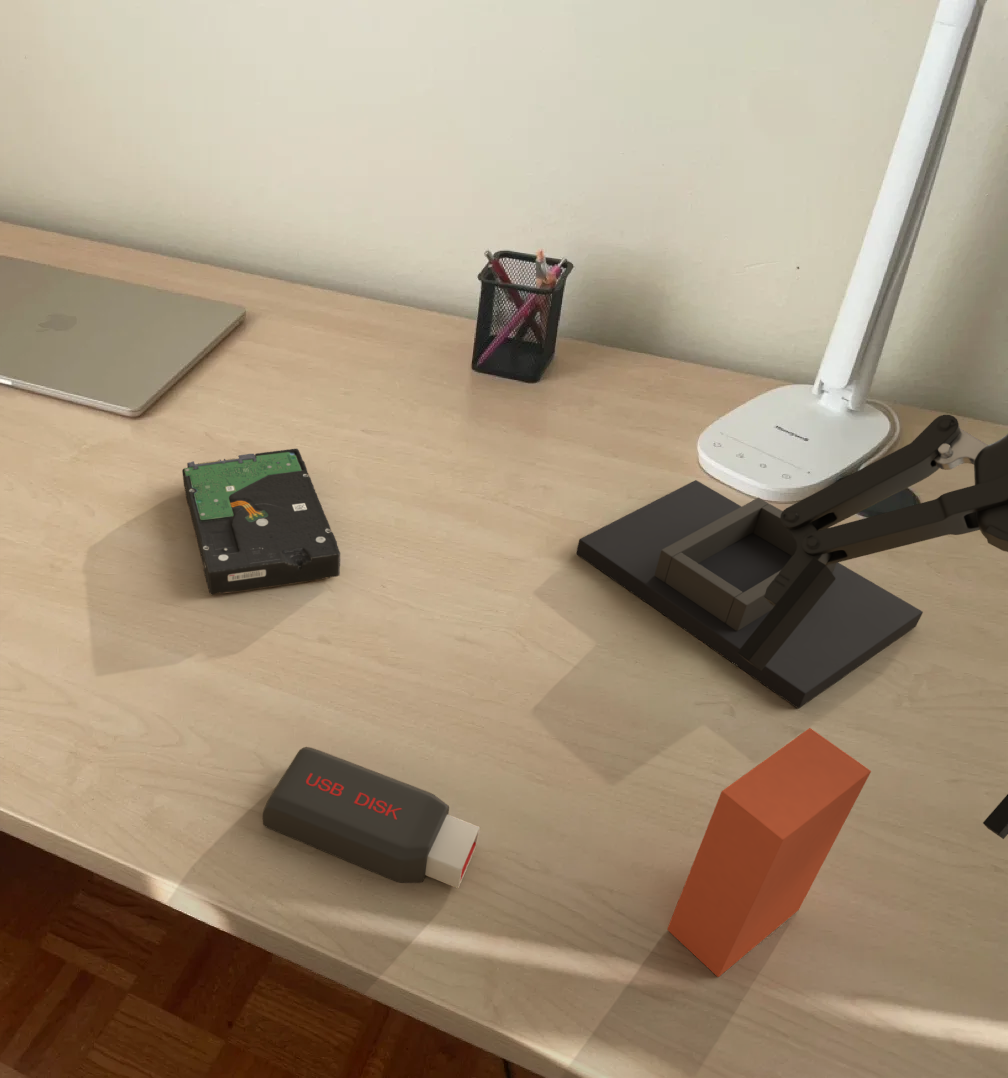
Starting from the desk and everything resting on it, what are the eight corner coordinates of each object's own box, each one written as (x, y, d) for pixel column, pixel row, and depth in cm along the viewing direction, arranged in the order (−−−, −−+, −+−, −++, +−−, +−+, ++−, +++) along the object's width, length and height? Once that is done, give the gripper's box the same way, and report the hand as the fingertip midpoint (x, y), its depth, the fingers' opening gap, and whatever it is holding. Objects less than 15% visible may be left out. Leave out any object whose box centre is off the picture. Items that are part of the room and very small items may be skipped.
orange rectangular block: (798, 909, 59) (871, 770, 51) (718, 977, 56) (783, 840, 48) (747, 866, 61) (809, 727, 54) (666, 929, 58) (721, 790, 50)
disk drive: (342, 580, 81) (298, 471, 92) (344, 552, 79) (298, 444, 91) (210, 601, 79) (180, 487, 91) (208, 573, 78) (178, 460, 89)
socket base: (916, 626, 77) (936, 585, 74) (798, 709, 70) (816, 667, 68) (691, 493, 90) (703, 454, 87) (575, 553, 83) (584, 513, 81)
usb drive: (300, 764, 67) (300, 735, 65) (481, 834, 63) (486, 805, 61) (262, 825, 63) (261, 796, 62) (452, 904, 59) (456, 876, 57)
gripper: (1453, 556, 46) (1121, 923, 49) (913, 335, 62) (687, 621, 65) (1500, 499, 41) (1122, 918, 43) (893, 273, 57) (646, 588, 60)
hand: (860, 740), depth 54 cm, fingers open, 13 cm apart
